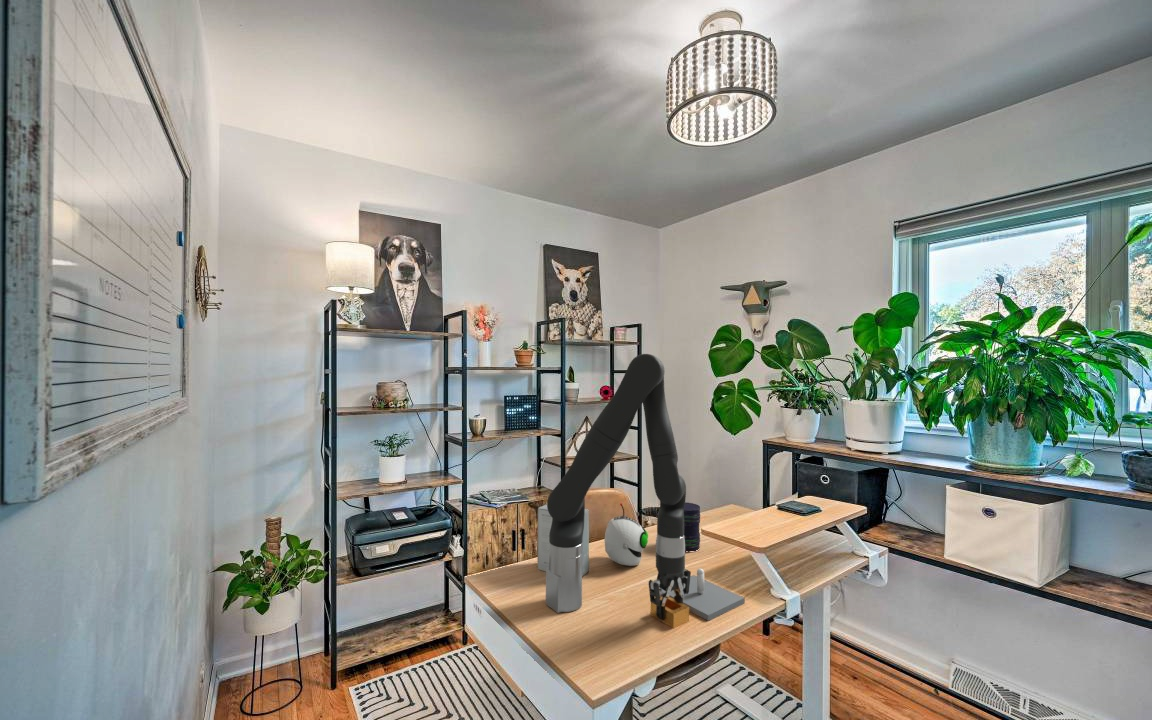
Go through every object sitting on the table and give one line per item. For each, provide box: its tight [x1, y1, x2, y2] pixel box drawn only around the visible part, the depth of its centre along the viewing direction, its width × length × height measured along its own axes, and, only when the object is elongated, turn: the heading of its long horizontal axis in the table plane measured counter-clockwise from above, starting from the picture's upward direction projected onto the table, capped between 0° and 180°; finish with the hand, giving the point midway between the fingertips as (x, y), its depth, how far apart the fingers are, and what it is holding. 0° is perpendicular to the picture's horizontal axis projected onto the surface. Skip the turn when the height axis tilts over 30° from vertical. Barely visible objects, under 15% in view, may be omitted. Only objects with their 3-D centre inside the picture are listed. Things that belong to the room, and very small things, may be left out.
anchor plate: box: [661, 568, 746, 622], centre depth 139 cm, size 16×18×8 cm
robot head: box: [604, 503, 649, 567], centre depth 162 cm, size 16×14×20 cm
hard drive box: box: [536, 503, 590, 577], centre depth 156 cm, size 16×8×20 cm, turn 59°
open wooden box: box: [650, 596, 690, 629], centre depth 128 cm, size 6×8×4 cm
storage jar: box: [684, 501, 701, 552], centre depth 177 cm, size 10×10×15 cm
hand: (669, 614), depth 128 cm, fingers closed on open wooden box, 6 cm apart
